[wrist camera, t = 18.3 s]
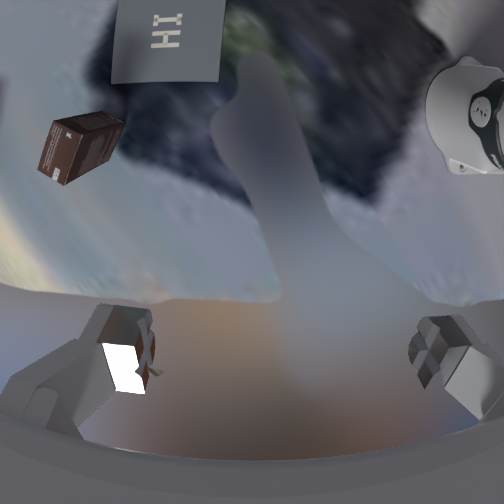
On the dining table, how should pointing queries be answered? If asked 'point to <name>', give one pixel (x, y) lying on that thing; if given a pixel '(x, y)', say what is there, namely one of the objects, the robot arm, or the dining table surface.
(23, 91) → the dining table surface
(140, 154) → the dining table surface
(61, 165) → the box
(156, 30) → the grey mat
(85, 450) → the robot arm
